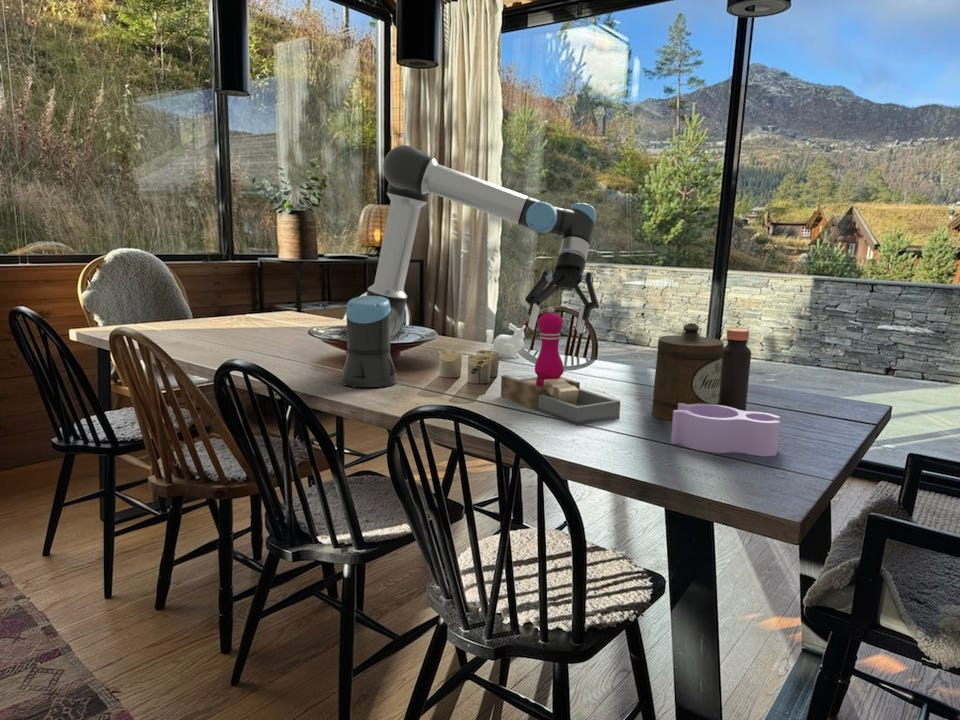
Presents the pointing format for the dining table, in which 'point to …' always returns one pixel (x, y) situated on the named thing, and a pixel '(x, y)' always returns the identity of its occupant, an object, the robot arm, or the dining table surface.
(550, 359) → the pepper mill
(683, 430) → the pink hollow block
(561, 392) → the chip
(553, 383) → the chip
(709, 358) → the wooden container
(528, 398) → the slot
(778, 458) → the dining table surface
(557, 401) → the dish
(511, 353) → the rabbit
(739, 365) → the bottle
